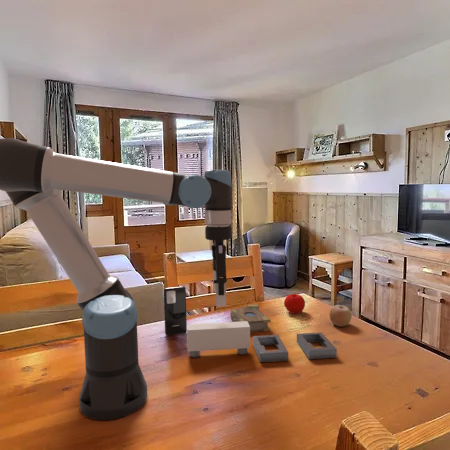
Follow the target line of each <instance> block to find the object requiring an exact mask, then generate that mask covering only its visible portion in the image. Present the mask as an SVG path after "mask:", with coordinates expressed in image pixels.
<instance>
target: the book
mask: <svg viewBox="0 0 450 450" xmlns="http://www.w3.org/2000/svg"><path fill="white" fill-rule="evenodd" d="M230 318H231V320H232V322H241V321H248V323H249V326H250V333H257V332H271V327H270V326H269V325H268V324H271V319H270V318H269V317H268V315H265V314H264V313H263V312H262V311H261V309H260V305H258V304H257V303H255V304H247V306H245V305H244V306H242V307H240V308H233V309H231V310H230Z"/></svg>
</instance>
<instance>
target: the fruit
mask: <svg viewBox="0 0 450 450" xmlns="http://www.w3.org/2000/svg"><path fill="white" fill-rule="evenodd" d="M352 315H353V314H352V311H351V309H350V308H349V307H348V306H346V305H342V302H339V304H337V305H333V306H332V307H331V308H330V310H329V319H330V322H331V323H332V324H333V325H335V326H337V327H340V328H341V327H346V326H347V325H349V324H350V323H351V320H352Z"/></svg>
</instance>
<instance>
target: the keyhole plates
mask: <svg viewBox="0 0 450 450" xmlns="http://www.w3.org/2000/svg"><path fill="white" fill-rule="evenodd" d="M296 343H297V344H298V346H299V347H300V348H301V350H302V351H303V352H304V354H305V355H306V357H307V358H308V359H309V360H316V359H330V358H332V359H333V358H337V357H338V356H337V352H338V351H337V350H338V349H337V348H336V346H334V344H333V343H332V342H331V341H330V340H329V339H328V338H327V336H325V334H324V333H323V332H320V331H319V332H306V333H296ZM312 343H319V344H320V345H321V346H322V347H314V345H313V344H312ZM252 345H253V348H254V350H255V353H256V355H257V357H258V361H259V362H260V363H265V362H266V363H268V362H285V361H287V362H288V361H289V351H288V349H287V347H286V346H285V344H284V342H283V341H282V339H281V337H280V336H279V334H271V335H270V334H268V335H254V336H253V335H252ZM270 345H272V346H273V345H275V347H276V350H266V347H265V346H270Z"/></svg>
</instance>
